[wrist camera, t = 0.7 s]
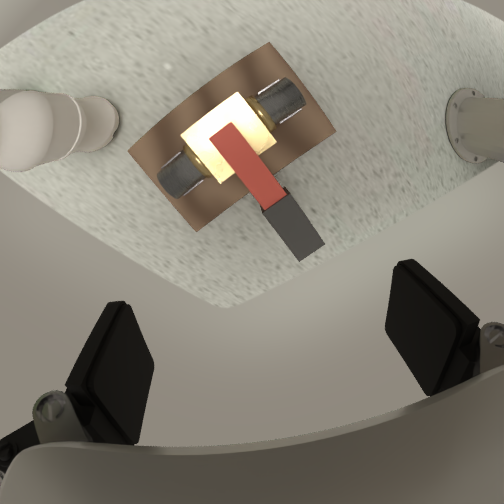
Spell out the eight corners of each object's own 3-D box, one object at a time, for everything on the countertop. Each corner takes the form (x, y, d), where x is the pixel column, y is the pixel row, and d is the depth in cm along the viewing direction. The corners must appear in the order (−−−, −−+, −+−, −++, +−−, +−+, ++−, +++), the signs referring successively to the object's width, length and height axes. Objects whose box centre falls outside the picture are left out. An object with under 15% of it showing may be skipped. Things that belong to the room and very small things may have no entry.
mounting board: (268, 45, 29) (269, 41, 28) (332, 131, 34) (336, 131, 33) (131, 149, 34) (127, 150, 33) (197, 228, 39) (196, 232, 38)
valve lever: (234, 120, 26) (233, 119, 22) (314, 229, 31) (325, 244, 27) (209, 139, 26) (205, 141, 23) (292, 245, 31) (299, 261, 28)
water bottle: (112, 87, 30) (-32, 67, 7) (132, 131, 33) (-8, 158, 10) (72, 116, 31) (-74, 137, 8) (91, 158, 34) (-50, 217, 11)
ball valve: (275, 73, 30) (283, 61, 24) (306, 114, 32) (321, 112, 26) (156, 162, 33) (140, 170, 28) (189, 200, 36) (179, 216, 30)
